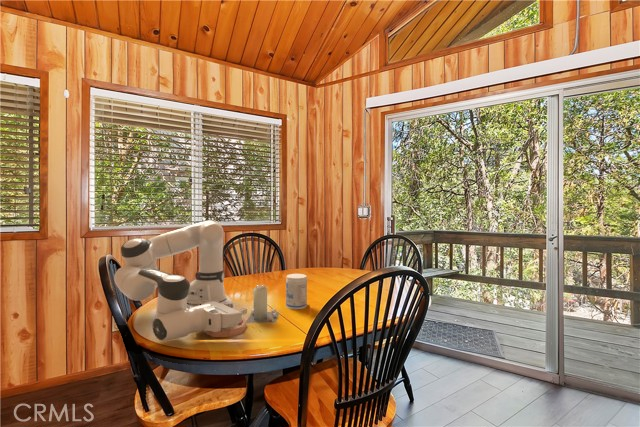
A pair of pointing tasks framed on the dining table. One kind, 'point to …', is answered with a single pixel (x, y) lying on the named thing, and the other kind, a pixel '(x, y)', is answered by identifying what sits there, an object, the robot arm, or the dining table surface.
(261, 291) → the pebble cup
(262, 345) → the dining table surface
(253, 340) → the dining table surface
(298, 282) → the supplement tub
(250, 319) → the parts board
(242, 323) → the bowl
